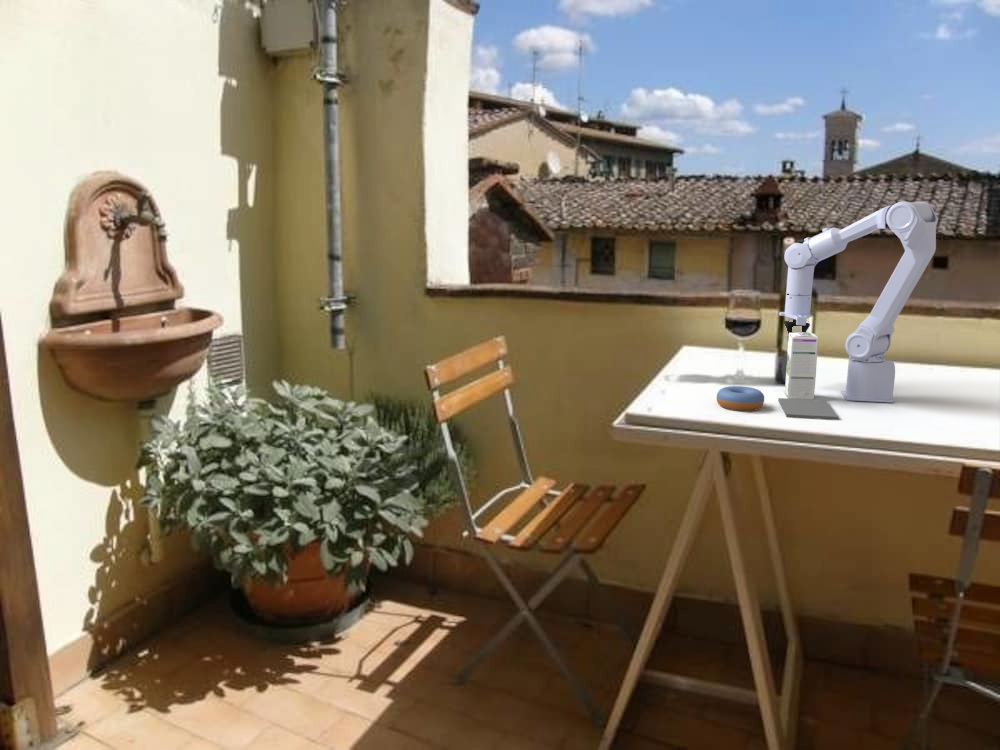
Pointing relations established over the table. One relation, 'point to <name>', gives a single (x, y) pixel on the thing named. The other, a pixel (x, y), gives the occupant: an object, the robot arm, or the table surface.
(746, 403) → the doughnut
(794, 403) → the mat
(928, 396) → the table surface
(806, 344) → the syrup box
